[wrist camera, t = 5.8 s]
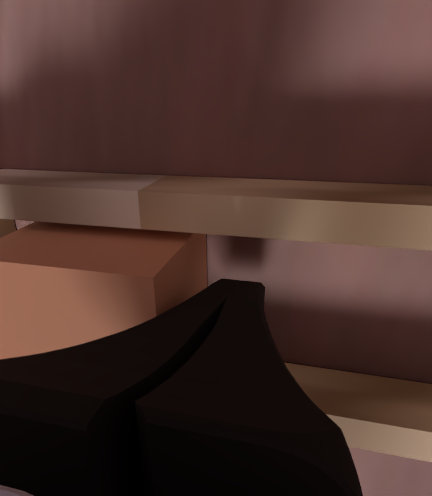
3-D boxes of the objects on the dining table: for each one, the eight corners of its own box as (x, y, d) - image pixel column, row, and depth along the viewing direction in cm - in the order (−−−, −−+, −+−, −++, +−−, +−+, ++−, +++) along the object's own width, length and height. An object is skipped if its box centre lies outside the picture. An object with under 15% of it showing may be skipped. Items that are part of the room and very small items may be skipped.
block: (205, 220, 12) (153, 277, 9) (208, 344, 14) (165, 436, 10) (59, 211, 13) (-42, 257, 10) (77, 326, 15) (-3, 402, 11)
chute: (643, 194, 9) (772, 239, 7) (553, 430, 12) (619, 532, 9) (-22, 168, 14) (-109, 188, 11) (18, 344, 16) (-44, 396, 13)
